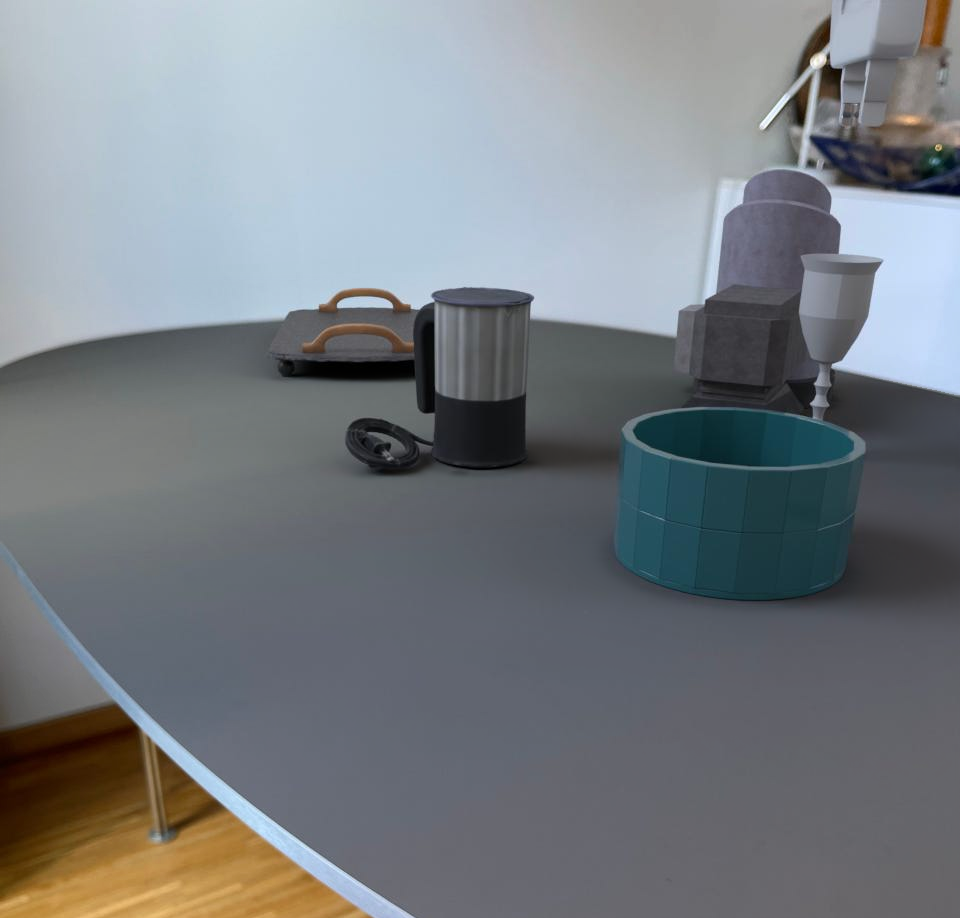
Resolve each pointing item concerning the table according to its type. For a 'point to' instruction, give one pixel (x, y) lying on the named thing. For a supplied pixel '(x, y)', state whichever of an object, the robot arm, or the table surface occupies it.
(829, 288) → the chalice
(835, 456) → the pot
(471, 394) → the milk frother
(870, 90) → the robot arm
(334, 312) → the serving tray
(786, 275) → the juicer
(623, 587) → the table surface
